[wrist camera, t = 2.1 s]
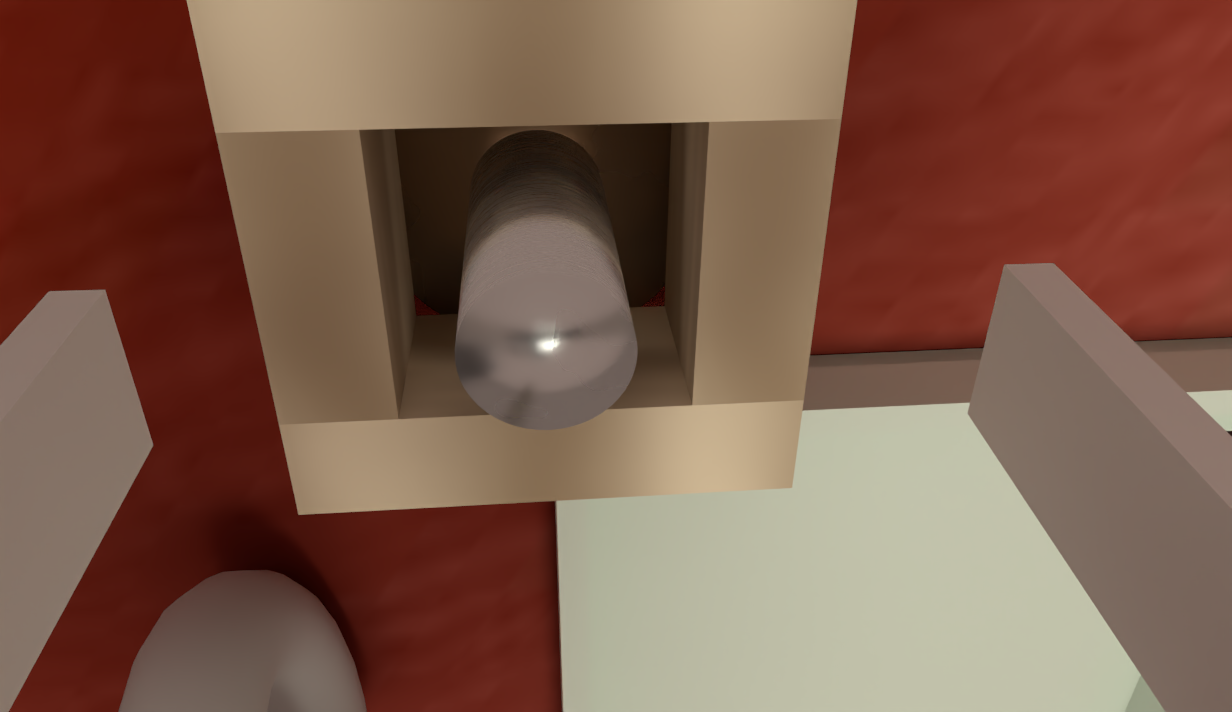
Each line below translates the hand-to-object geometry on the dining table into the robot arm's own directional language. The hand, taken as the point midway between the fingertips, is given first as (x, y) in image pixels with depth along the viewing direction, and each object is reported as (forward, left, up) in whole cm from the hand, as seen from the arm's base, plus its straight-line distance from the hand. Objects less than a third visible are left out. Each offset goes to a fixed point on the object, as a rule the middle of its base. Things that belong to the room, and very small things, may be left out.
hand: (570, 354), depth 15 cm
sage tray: (+11, -17, -10) cm, 22 cm away
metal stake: (0, 0, -10) cm, 10 cm away
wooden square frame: (0, 0, -7) cm, 7 cm away
